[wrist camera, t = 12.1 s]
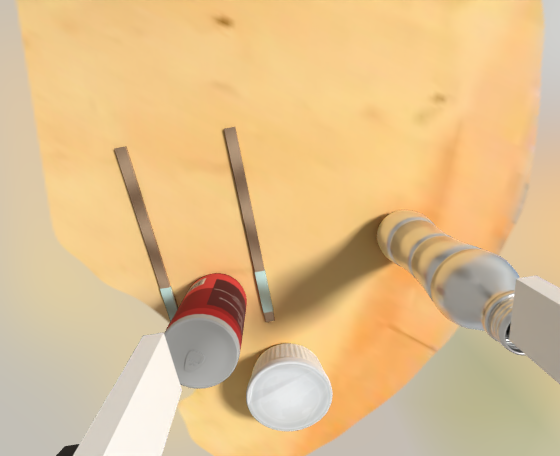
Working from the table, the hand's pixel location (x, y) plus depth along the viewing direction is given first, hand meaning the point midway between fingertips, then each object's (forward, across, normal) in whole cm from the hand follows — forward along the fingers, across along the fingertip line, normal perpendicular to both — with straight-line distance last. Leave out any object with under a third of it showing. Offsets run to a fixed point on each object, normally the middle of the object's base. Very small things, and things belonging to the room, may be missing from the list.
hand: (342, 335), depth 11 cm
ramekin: (+26, -4, -25) cm, 36 cm away
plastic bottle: (+26, +13, -7) cm, 30 cm away
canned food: (+26, -11, -12) cm, 30 cm away
